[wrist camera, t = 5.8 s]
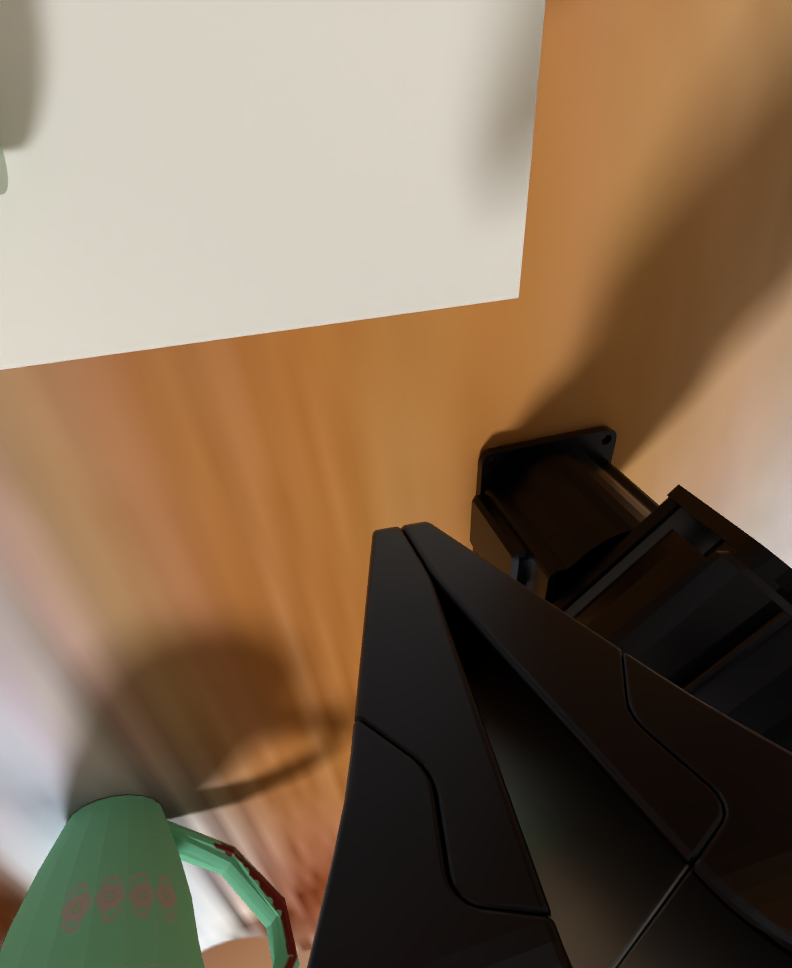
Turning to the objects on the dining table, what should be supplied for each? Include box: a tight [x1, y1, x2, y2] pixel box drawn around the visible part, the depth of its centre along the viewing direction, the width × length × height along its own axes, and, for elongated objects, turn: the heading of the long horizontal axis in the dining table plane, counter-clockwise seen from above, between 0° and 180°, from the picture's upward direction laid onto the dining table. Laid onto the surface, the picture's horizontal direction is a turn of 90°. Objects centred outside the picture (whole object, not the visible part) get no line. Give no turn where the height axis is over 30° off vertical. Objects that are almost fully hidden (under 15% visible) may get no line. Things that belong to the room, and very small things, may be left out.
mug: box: [0, 795, 299, 968], centre depth 28 cm, size 15×10×10 cm
